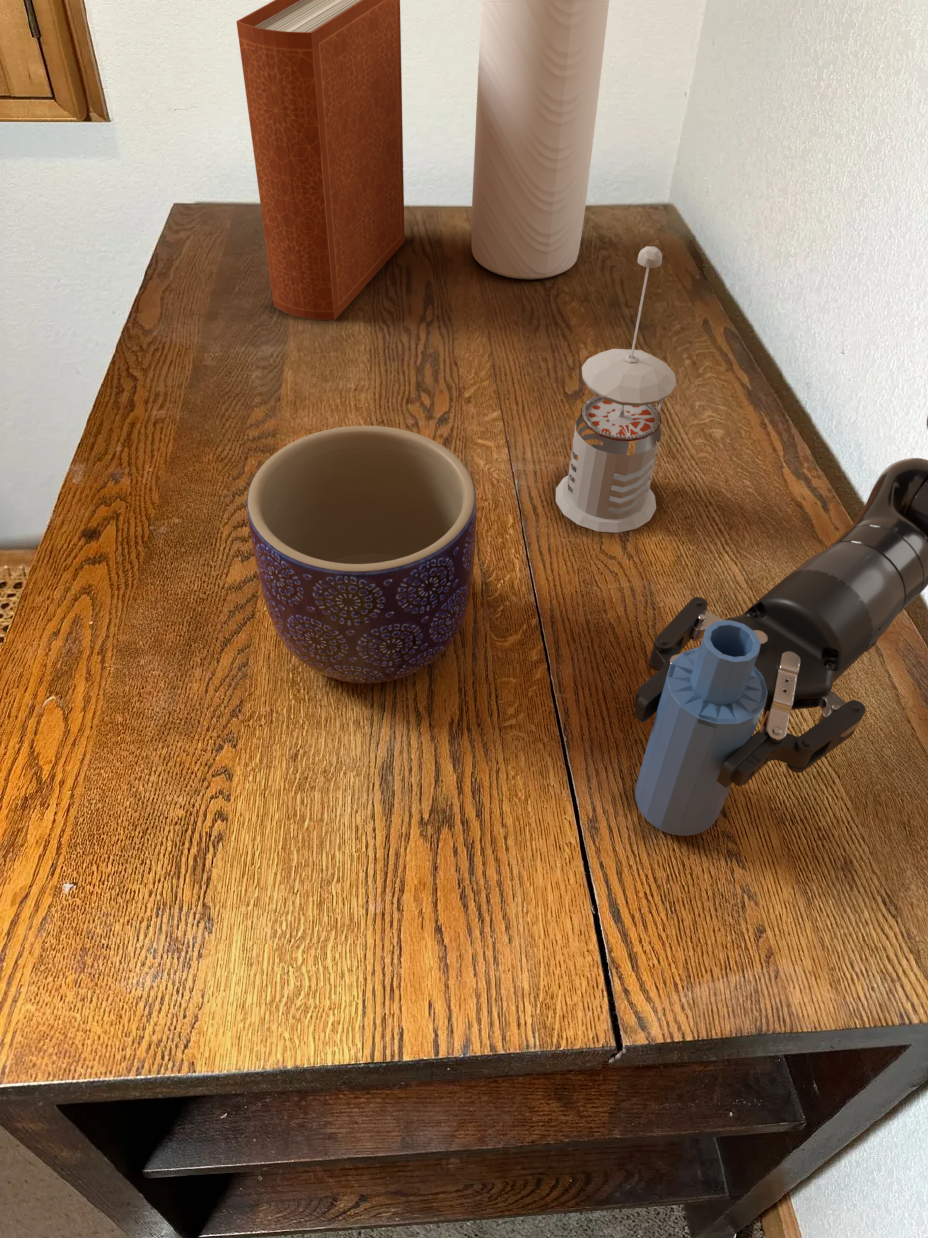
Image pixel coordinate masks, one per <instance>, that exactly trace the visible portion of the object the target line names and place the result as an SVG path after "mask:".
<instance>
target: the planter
mask: <svg viewBox="0 0 928 1238" xmlns="http://www.w3.org/2000/svg"><path fill="white" fill-rule="evenodd" d="M246 512H247V521H248V523H247V524H248V528H249V533H250V534H249V535H250V540H251V545H252V551H253V552H252V553H253V557H254V562H255V567H256V571H257V575H258V576H257V577H258V580H259V584H260V590H261V593H262V596H263V600H264V603H265V606H266V610H267V612H268V613H267V614H268V615H269V619H270V622H271V624H272V627H273V629H274V631H275V632H276V634H277V636H278V638H279V639H280V641H281V642H282V644H283V645H284V647H285V648H286V649H287V650H288V651H289V653H291V655H292V656H293V657H295V658H296V659H297V660H299V661H300V662H301V663H302V664H304V665H305V666H307V667H308V668H310V669H311V670H313V671H315V672H318V673H319V674H321V675H324V676H326V677H328V678H332V679H335V680H338V681H342V682H346V683H352V684H380V683H388V682H392V681H397V680H400V679H402V678H405V677H408V676H411V675H413V674H415V673H417V672H419V671H420V670H422V669H424V668H426V667H427V666H429V665H430V664H431V663H433V662H434V661H436V660H437V659H438V658H439V657H440V656H441V655H442V654H443V653H444V652H445V651H446V650H447V649H448V648H449V647H450V646H451V644H452V643H453V642H454V640H455V639H456V638H457V636H458V634H459V632H460V630H461V628H462V626H463V623H464V622H465V618H466V615H467V611H468V606H469V603H470V597H471V590H472V584H473V579H474V566H475V565H474V564H475V554H476V539H477V537H476V535H477V492H476V486H475V482H474V479H473V476H472V475H471V473H470V471H469V469H468V468H467V466H466V465H465V463H463V461H462V460H461V459H460V458H459V457H458V455H456V454H455V453H454V452H452V451H451V450H450V449H448V448H447V447H445V446H444V445H442V444H441V443H439V442H437V441H435V440H434V439H431V438H429V437H427V436H425V435H421V434H419V433H417V432H413V431H410V430H407V429H401V428H398V427H392V426H391V427H390V426H383V425H349V426H348V425H347V426H340V427H335V428H334V427H333V428H329V429H325V430H321V431H317V432H315V433H312V434H308V435H305V436H303V437H301V438H299V439H298V438H297V439H296V440H294V441H292V442H290V443H288V444H287V445H284V447H282V448H280V449H279V450H277V451H276V452H275V453H274V454H272V455H271V456H270V457H268V459H267V460H266V461H265V462H264V463H263V464H262V465H261V466H260V468H259V469H258V470H257V471H256V473H255V474H254V476H253V478H252V480H251V482H250V484H249V488H248V491H247V496H246Z"/></svg>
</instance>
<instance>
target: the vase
mask: <svg viewBox="0 0 928 1238" xmlns="http://www.w3.org/2000/svg"><path fill="white" fill-rule="evenodd" d="M609 5H610V0H481V12H480V31H479V49H478V67H477V70H478V72H477V90H476V91H477V92H476V93H477V94H476V109H475V110H476V112H475V131H474V132H475V133H474V156H473V177H472V199H471V225H470V226H471V231H470V235H471V237H470V238H471V239H470V241H471V245H470V246H471V247H470V248H471V253H472V256H473V257H474V259H475V261H476V262H478V265H481V267H483V268H484V269H486V270H488V271H489V272H492V273H493V274H496V275H499V276H502V277H505V278H509V279H518V280H541V279H548V278H552V277H555V276H558V275H561V274H562V273H565V272H567V271H568V270H570V269H571V268H572V267H573V266H574V265H575V264H576V262H577V261H578V257H579V252H580V247H581V242H582V235H583V229H584V220H585V213H586V207H587V206H586V205H587V197H588V196H587V195H588V189H589V188H588V187H589V180H590V179H589V178H590V172H591V171H590V170H591V162H592V153H593V145H594V136H595V128H596V120H597V110H598V101H599V96H600V95H599V93H600V87H601V86H600V85H601V77H602V67H603V59H604V49H605V41H606V33H607V23H608V13H609V7H610V6H609Z"/></svg>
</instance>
